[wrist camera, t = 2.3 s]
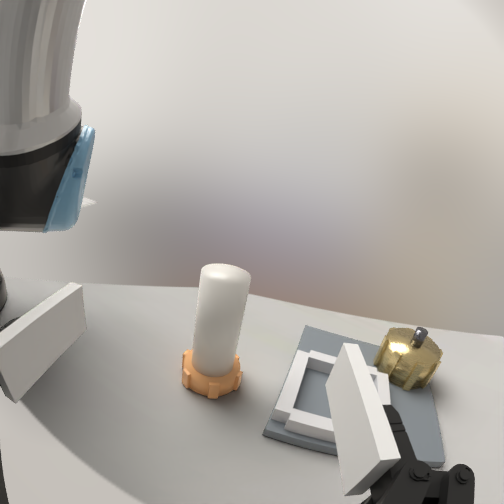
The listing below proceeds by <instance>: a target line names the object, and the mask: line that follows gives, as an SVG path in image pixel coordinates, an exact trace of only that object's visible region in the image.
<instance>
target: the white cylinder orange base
mask: <svg viewBox="0 0 504 504" xmlns="http://www.w3.org/2000/svg"><path fill="white" fill-rule="evenodd" d="M250 281H251V276H250V274H249V273H248V272H247V271H245V270H243V269H241V268H239V267H236V266H232V265H227V264H209V265H206V266H204V267H203V268H202V270H201V276H200V286H199V293H198V301H197V310H196V320H195V329H194V339H193V349H192V350H188V349H187V350H186V351H185V352H184V353H183V362H182V368H184V369H183V374H182V383H183V385H184V386H185V387H186V388H190V389H192V390H193V391H195V392H197V393H199V394H201V395H205V396H208V398H213V399H218V396H222V395H225V394H228V393H230V392H231V391H232V390H237V389H238V387H239V385H240V382H241V378H242V373H243V372H241V371H240V363H239V356H237V355H236V349H237V345H238V340H239V335H240V330H241V325H242V320H243V315H244V310H245V305H246V301H247V296H248V291H249V286H250Z"/></svg>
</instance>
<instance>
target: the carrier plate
mask: <svg viewBox="0 0 504 504" xmlns="http://www.w3.org/2000/svg"><path fill="white" fill-rule="evenodd" d="M343 343H351V344H358V346H359V348H360V350H361V353H362V355H363V358H364V360H365V362H366V365H367V367H368V370H369V372H370V375H371V377H372V380H373V382H374V385H375V387H376V390H377V392H378V395H379V398H380V400H381V403H382V405H392V406H393V407H394V408H395V409H396V410H397V411H398V413H399V414H400V417H401V419H402V422H403V423H402V424H404V427H405V429H406V430H405V432H407V434H408V437H409V440H410V442H411V445H412V447H413V450H414V453H415V456H416V458H417V460H420V461H423V462H425V463H426V464H428V465H429V467H440V466H441V465H442V464H443V463H445V456H444V450H443V444H442V438H441V433H440V427H439V423H438V418H437V413H436V409H435V404H434V400H433V396H432V392H431V388H430V384H429V383H428V385H427V386H426V387H425V388H423V389H422V388H421V387H420V388H418V389H410V391H407V390H402V388H401V387H398V386H396V385H394V384H392V383H390V382H389V380H388V374H385V373H381V372H379V371H378V369H377V366H376V365H374V364H373V360H374V358H375V356H376V354H377V352H378V350H379V347H380V346H377V345H373V344H370V343H366V342H362V341H358V340H355V339H351V338H348V337H344V336H341V335H337V334H334V333H330V332H327V331H323V330H320V329H317V328H313V327H310V326H307V325H305V328H304V331H303V334H302V337H301V340H300V342H299V345H298V348H297V351H296V353H295V356H294V359H293V361H292V364H291V367H290V369H289V372H288V374H287V377H286V379H285V382H284V385H283V387H282V389H281V392H280V394H279V397H278V399H277V402H276V404H275V407H274V409H273V411H272V414H271V416H270V418H269V421H268V423H267V425H266V427H265V430H264V432H263V435H264V436H267V437H270V438H273V439H276V440H280V441H283V442H286V443H290V444H293V445H296V446H300V447H304V448H307V449H311V450H315V451H319V452H324V453H328V454H332V455H337V456H338V453H337V447H336V441H335V435H334V429H333V423H332V418H331V412H330V407H329V401H328V396H327V391H326V386H325V384H326V382H327V380H328V378H329V375H330V373H331V371H332V369H333V366H334V364H335V362H336V359H337V357H338V355H339V352H340V350H341V347H342V345H343Z"/></svg>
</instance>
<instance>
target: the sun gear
mask: <svg viewBox="0 0 504 504" xmlns="http://www.w3.org/2000/svg"><path fill="white" fill-rule="evenodd" d="M427 334H428V331H427V330H426V329H424V328H422V327H417V329H416V331H414V330H413V329H410V328H407V329H406V328H394V327H393V328H390V329H389V332H388V334H387V336H386V335H385V337H384V339H383V341H382V343H381V345H380V347H379V350H378V352H377V354H376V356H375V358H374V360H373V364H374V365H376V366H377V369H378V371H379V372H381V373H385V374H388V380H389V382H390V383H392V384H394V385H396V386H398V387H401V388H402V390H407V391H410V389H418V388H420V387H421V388H422V389H423V388H425V387H426V386H427V385H428V383H429V382H430V380H431V378H432V377H433V375H434V374H435V372H436V370H437V369H438V367H439V365H440V364H441V361H439V360H440V358H441V356H442V355H443V352H442V350H441V349H439V347H438V346H437V345H436V344H435V343H434V342H433V341H432V339H431V338H429V337H428V336H427Z"/></svg>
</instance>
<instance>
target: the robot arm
mask: <svg viewBox="0 0 504 504" xmlns="http://www.w3.org/2000/svg"><path fill="white" fill-rule="evenodd" d="M85 2H86V0H0V231H24V232H42V233H46V232H48V231H65V230H68V229H70V228H72V227H73V226H74V225H75V223H76V222H77V220H78V217H79V213H80V209H81V204H82V199H83V194H84V189H85V184H86V179H87V173H88V169H89V164H90V159H91V154H92V149H93V144H94V138H95V130H94V128H91V127H88V126H87V125H84V126H81V115H82V113H81V107H80V105H79V104H78V103H77V102H76V101H75V100H74V99H72V98H71V97H70V96H69V86H70V77H71V70H72V63H73V56H74V50H75V45H76V39H77V35H78V30H79V25H80V21H81V17H82V13H83V9H84V6H85ZM6 299H7V291H6V285H5V280H4V277H3V274H2V272H1V270H0V310H1V308H2V307H3V306H4V304H5V302H6ZM86 330H87V327H86V319H85V311H84V302H83V290H82V285H79V284H76V283H73V282H71V283H69V284H68V285H66V286H65V287H63V288H62V289H60V290H59V291H57V292H56V293H54V294H53V295H51V296H50V297H48V298H47V299H46V300H44V301H43V302H41V303H40V304H38V305H37V306H35V307H34V308H33V309H31V310H30V311H28V312H27V313H26V314H24V315H23V316H22V317H18V318H16V319H13V320H11V321H9V322H8V323H7V324H5V325H4V327H1V328H0V386H1V388H2V390H3V392H4V394H5V396H7V397H8V398H9V399H10V400H12V401H13V402H14V403H17V402H18V401H19V400H20V399H21V398H22V396H23V395H24V394H25V393H26V392H27V391H28V390H29V389H30V388H31V387H32V385H33V384H34V383H35V382H36V381H37V380H38V379H39V378H40V377H41V376H42V375H43V374H44V373H45V372H46V371H47V369H48V368H49V367H50V366H51V365H52V364H53V363H54V362H55V361H56V360H57V359H58V358H59V357H60V356H61V355H62V354H63V353H64V352H65V351H66V350H67V349H68V348H69V347H70V346H71V345H72V344H73V343H74V342H75V341H76V340H77V339H78V338H79V337H80V336H81V335H82V334H83V333H84V332H85V331H86ZM325 386H326V391H327V396H328V401H329V407H330V412H331V418H332V423H333V429H334V435H335V441H336V447H337V453H338V459H339V466H340V472H341V479H342V486H343V493H344V496H350V495H360V494H363V493H364V492H366V491H367V490H368V489H369V488H370V490H371V496H369V497H368V498H367V499H366V500H364V501H363V502H362V503H361V504H474V488H475V477H474V473H473V471H472V469H471V468H469V467H468V466H467V465H464V464H457V465H455V466H453V467H452V468H451V469H450V470H449V471H448V472H447V471H434V470H431V468H430V467H429V465H428V464H426V463H425V462H423V461H420V460H417V458H416V456H415V453H414V450H413V447H412V445H411V442H410V440H409V437H408V434H407V432H405V430H406V429H405V427H404V424H402V423H403V422H402V419H401V417H400V414H399V413H398V411H397V410H396V409H395V408H394V407H393V406H392V405H382V403H381V400H380V398H379V395H378V392H377V390H376V387H375V385H374V382H373V380H372V377H371V375H370V372H369V370H368V367H367V365H366V362H365V360H364V358H363V355H362V353H361V350H360V348H359V346H358V344H351V343H343V345H342V347H341V350H340V352H339V355H338V357H337V359H336V362H335V364H334V366H333V369H332V371H331V373H330V375H329V378H328V380H327V382H326V384H325ZM0 504H9V502H8V498H7V493H6V488H5V482H4V477H3V470H2V461H1V451H0Z"/></svg>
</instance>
